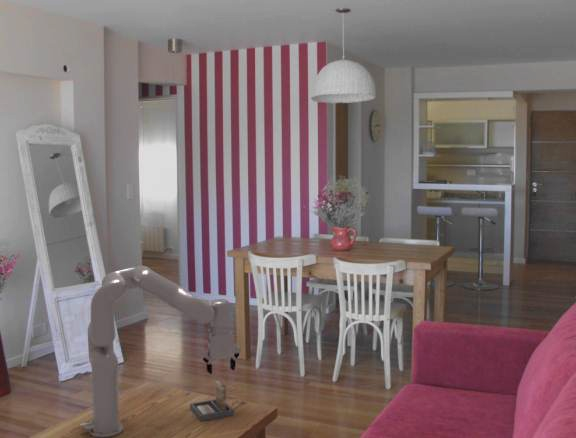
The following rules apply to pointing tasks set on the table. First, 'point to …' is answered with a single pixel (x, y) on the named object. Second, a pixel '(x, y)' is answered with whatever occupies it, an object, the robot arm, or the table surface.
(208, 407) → the offcut upper
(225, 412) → the rack
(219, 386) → the birch sheet
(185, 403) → the table surface
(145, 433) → the table surface
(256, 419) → the table surface
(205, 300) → the robot arm
